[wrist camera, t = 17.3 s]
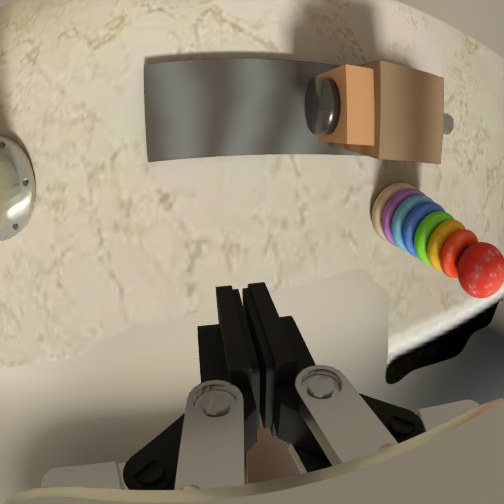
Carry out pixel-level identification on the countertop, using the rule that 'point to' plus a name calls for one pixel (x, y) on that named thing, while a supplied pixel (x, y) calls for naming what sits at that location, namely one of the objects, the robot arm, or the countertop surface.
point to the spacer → (353, 105)
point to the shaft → (333, 107)
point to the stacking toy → (437, 239)
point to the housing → (281, 110)
